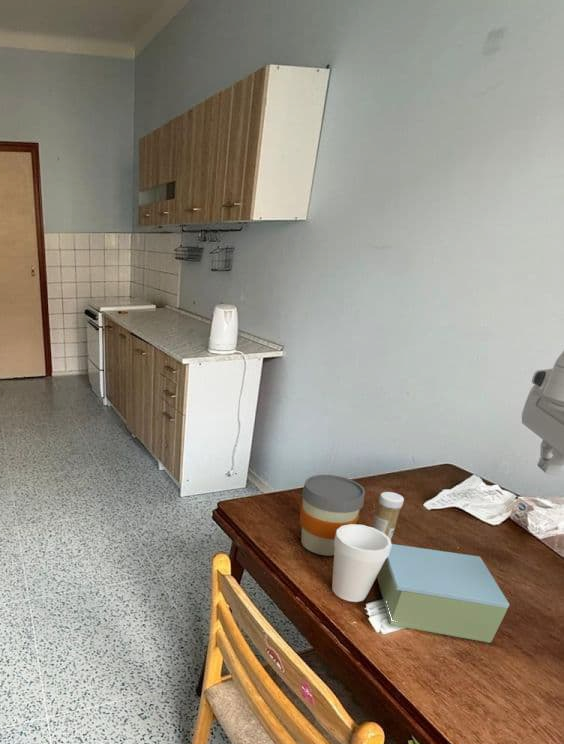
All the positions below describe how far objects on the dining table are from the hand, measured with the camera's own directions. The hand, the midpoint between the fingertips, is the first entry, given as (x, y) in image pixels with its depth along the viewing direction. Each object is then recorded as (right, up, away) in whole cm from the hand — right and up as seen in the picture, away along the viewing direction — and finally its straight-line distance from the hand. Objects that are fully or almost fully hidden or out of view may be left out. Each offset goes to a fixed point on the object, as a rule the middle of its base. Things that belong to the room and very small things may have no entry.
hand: (546, 471), depth 76 cm
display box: (-10, -26, +14) cm, 31 cm away
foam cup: (-23, -24, +19) cm, 38 cm away
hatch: (-10, -19, +10) cm, 24 cm away
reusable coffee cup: (-22, -16, +33) cm, 43 cm away
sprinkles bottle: (-10, -17, +32) cm, 37 cm away
